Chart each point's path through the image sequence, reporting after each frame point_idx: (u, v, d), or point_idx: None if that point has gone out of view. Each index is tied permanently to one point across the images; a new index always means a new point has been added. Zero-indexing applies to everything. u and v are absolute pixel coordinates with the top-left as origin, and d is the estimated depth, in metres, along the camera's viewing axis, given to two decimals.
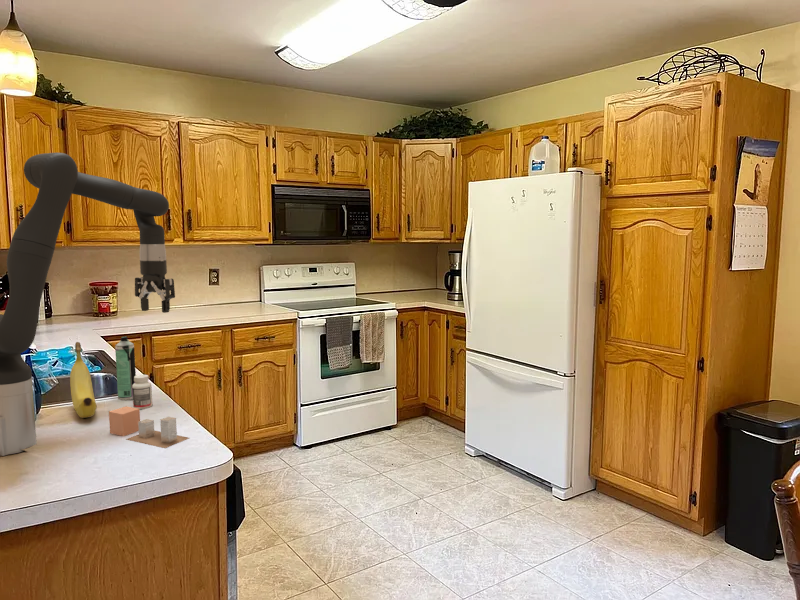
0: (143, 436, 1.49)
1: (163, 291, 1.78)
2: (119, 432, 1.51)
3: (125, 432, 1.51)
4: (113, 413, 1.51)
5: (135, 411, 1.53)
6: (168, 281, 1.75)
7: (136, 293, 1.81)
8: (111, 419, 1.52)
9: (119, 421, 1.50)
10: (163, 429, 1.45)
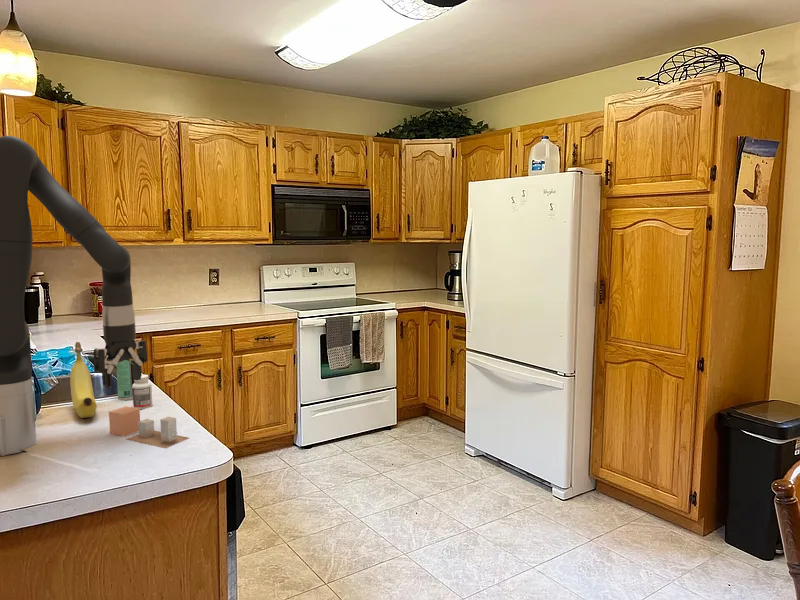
0: (143, 436, 1.49)
1: None
2: (119, 432, 1.51)
3: (125, 432, 1.51)
4: (113, 413, 1.51)
5: (135, 411, 1.53)
6: None
7: (103, 368, 1.46)
8: (111, 419, 1.52)
9: (119, 421, 1.50)
10: (163, 429, 1.45)
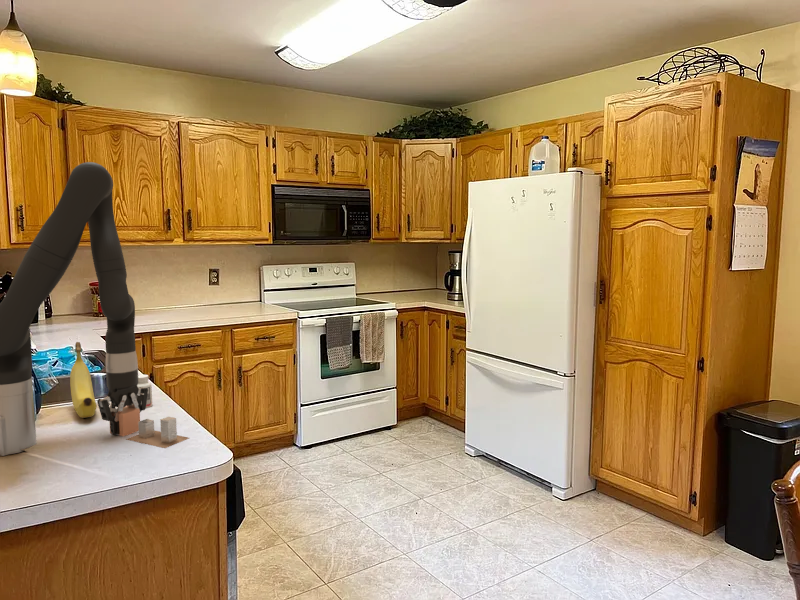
0: (143, 436, 1.49)
1: None
2: None
3: (125, 432, 1.51)
4: None
5: (135, 411, 1.53)
6: None
7: (111, 417, 1.48)
8: None
9: (119, 421, 1.50)
10: (163, 429, 1.45)
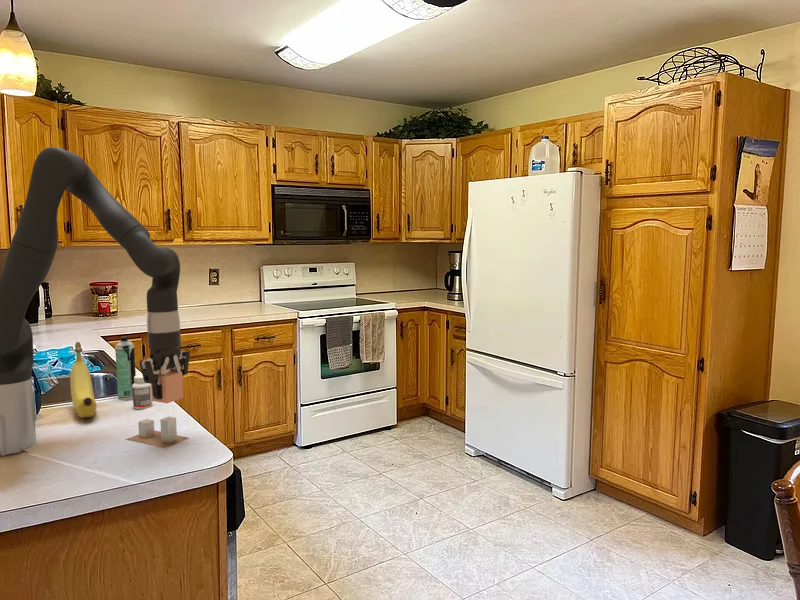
0: (143, 436, 1.49)
1: None
2: (162, 396, 1.43)
3: (168, 396, 1.43)
4: None
5: (178, 374, 1.45)
6: None
7: (153, 379, 1.40)
8: None
9: (162, 384, 1.42)
10: (163, 429, 1.45)
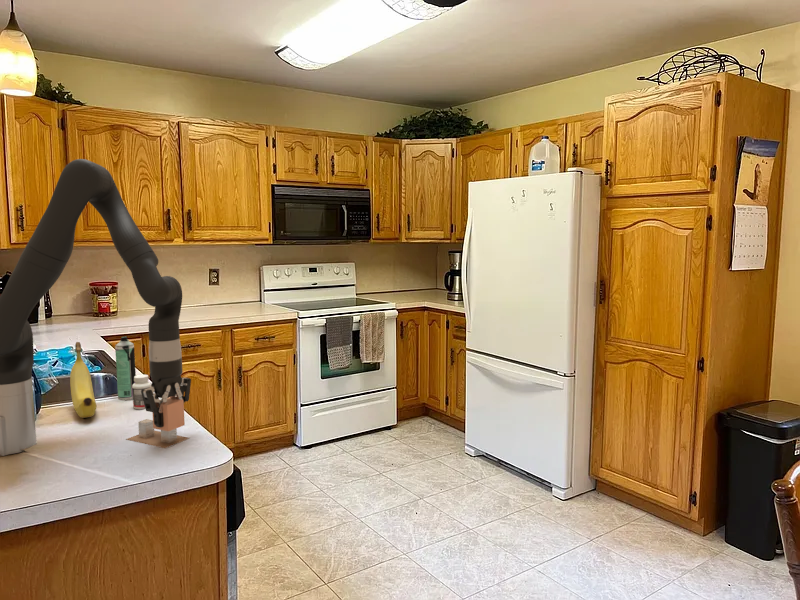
0: (143, 436, 1.49)
1: None
2: (164, 424, 1.43)
3: (169, 424, 1.43)
4: (157, 404, 1.44)
5: (179, 402, 1.46)
6: None
7: (155, 408, 1.41)
8: None
9: (163, 413, 1.43)
10: None
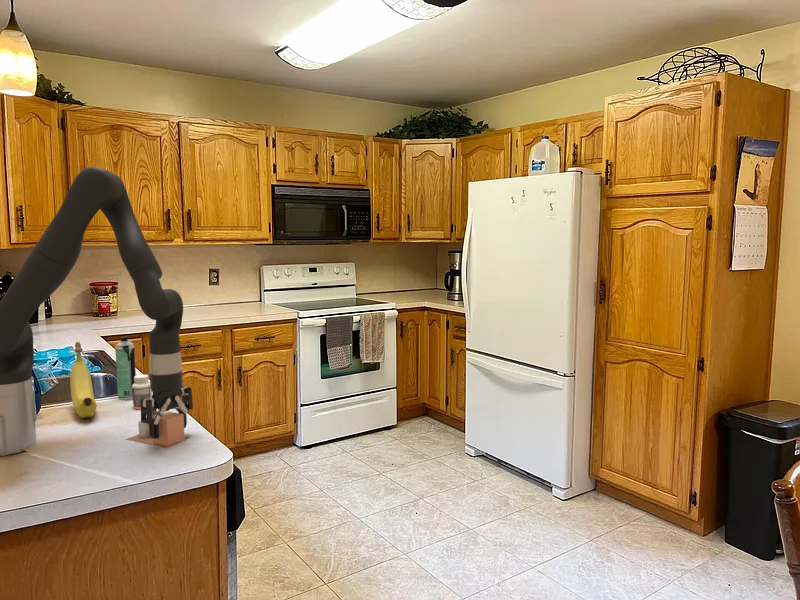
0: (143, 436, 1.49)
1: None
2: (163, 439, 1.44)
3: (169, 439, 1.44)
4: None
5: (179, 417, 1.46)
6: None
7: (150, 419, 1.40)
8: None
9: (163, 427, 1.43)
10: None
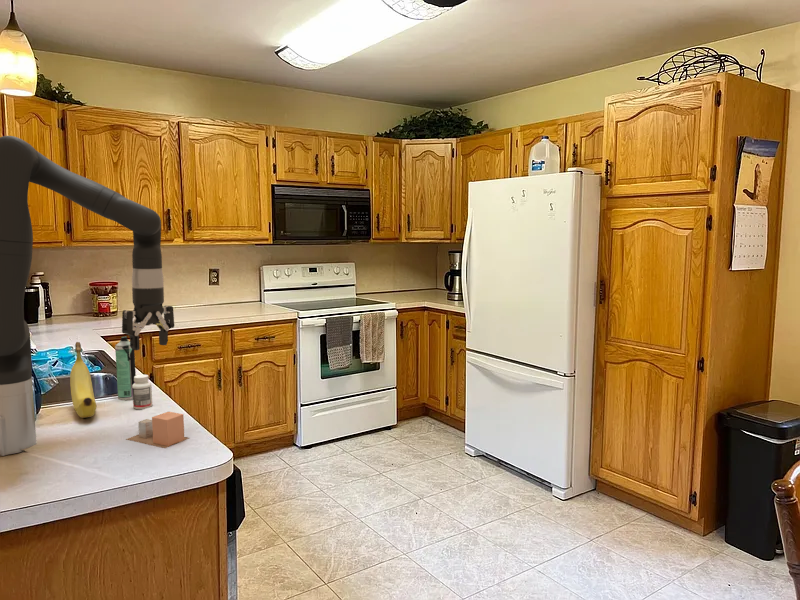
0: (143, 436, 1.49)
1: None
2: (163, 439, 1.44)
3: (169, 439, 1.44)
4: (157, 419, 1.44)
5: (179, 417, 1.46)
6: None
7: (131, 330, 1.46)
8: (154, 425, 1.45)
9: (163, 427, 1.43)
10: None
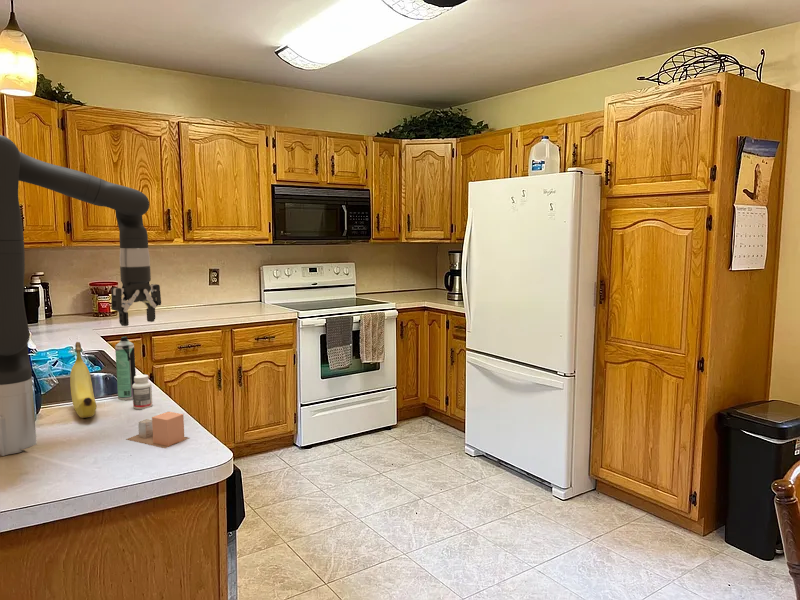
0: (143, 436, 1.49)
1: None
2: (163, 439, 1.44)
3: (169, 439, 1.44)
4: (157, 419, 1.44)
5: (179, 417, 1.46)
6: None
7: (120, 306, 1.54)
8: (154, 425, 1.45)
9: (163, 427, 1.43)
10: None
